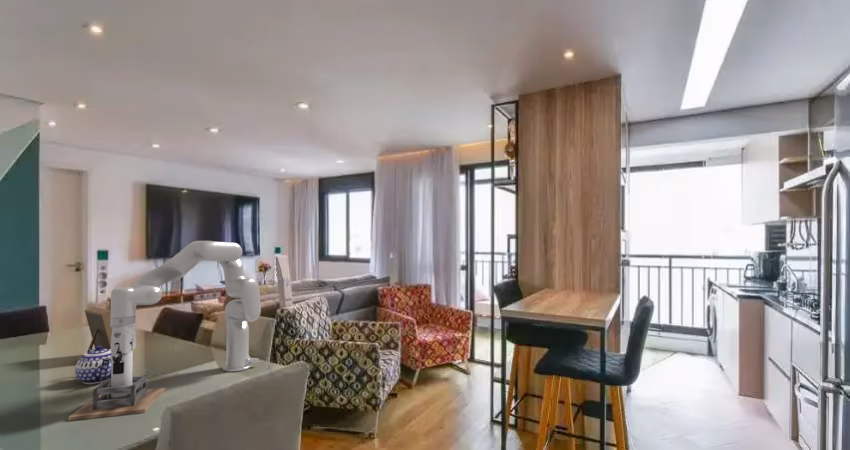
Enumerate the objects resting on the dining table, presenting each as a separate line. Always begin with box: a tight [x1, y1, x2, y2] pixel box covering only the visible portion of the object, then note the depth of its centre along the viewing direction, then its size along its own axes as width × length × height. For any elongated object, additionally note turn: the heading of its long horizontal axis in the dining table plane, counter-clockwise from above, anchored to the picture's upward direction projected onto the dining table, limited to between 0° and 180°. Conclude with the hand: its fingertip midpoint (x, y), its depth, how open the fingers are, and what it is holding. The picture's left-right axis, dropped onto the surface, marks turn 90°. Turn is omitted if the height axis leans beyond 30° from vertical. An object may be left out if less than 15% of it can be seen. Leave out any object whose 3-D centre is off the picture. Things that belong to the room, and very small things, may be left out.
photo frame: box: [84, 306, 113, 352], centre depth 208 cm, size 15×22×25 cm
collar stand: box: [67, 374, 167, 422], centre depth 148 cm, size 22×22×8 cm
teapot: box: [74, 345, 111, 385], centre depth 175 cm, size 25×15×15 cm, turn 51°
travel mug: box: [111, 341, 134, 399], centre depth 149 cm, size 6×7×20 cm
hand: (122, 370), depth 149 cm, fingers closed on travel mug, 6 cm apart
